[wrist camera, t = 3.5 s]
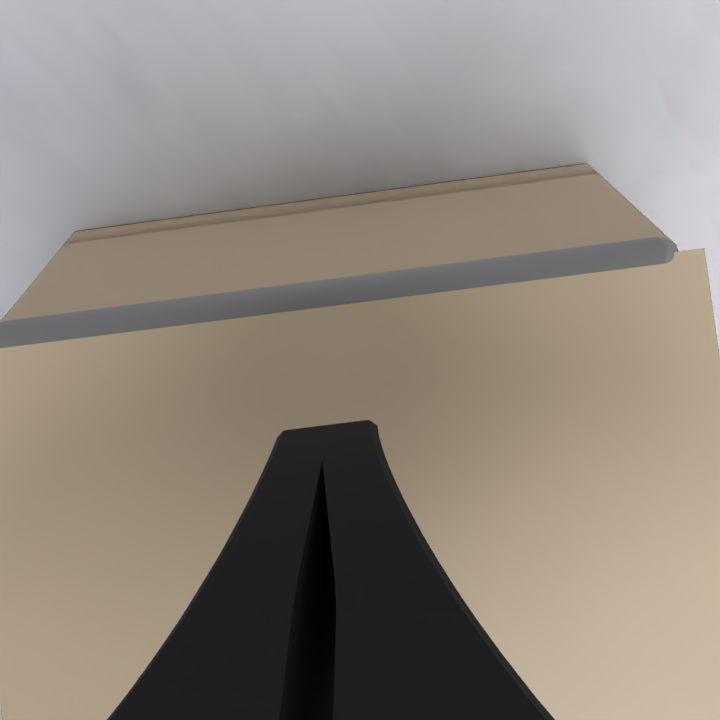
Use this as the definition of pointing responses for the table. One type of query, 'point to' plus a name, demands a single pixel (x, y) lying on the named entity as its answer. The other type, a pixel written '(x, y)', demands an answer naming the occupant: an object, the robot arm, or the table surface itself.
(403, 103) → the table surface
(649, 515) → the lid
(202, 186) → the table surface
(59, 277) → the box
